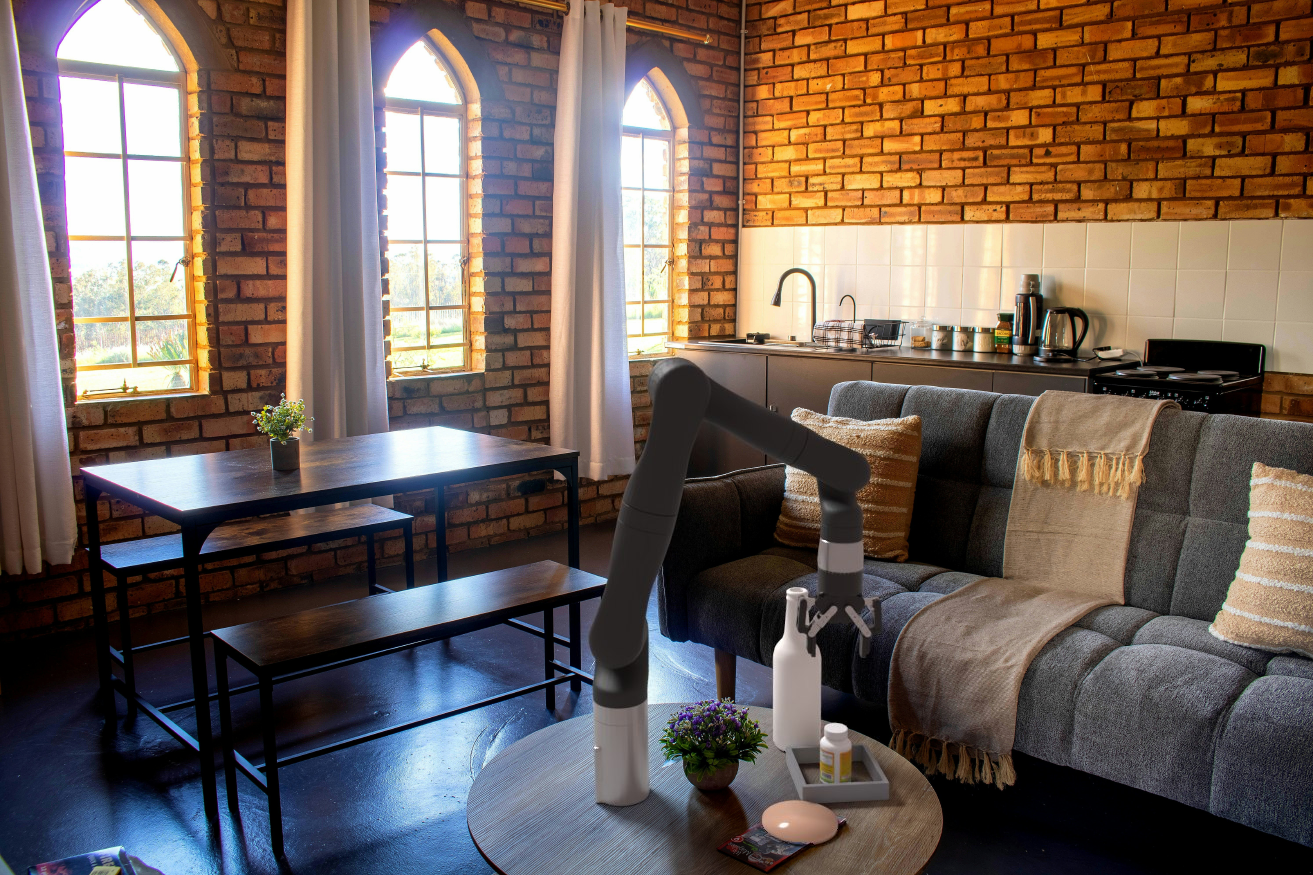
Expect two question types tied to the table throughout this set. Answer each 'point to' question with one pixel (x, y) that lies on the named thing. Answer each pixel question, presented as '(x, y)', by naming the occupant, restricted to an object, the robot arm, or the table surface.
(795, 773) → the bin
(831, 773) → the supplement bottle
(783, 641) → the alcohol
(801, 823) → the plate
